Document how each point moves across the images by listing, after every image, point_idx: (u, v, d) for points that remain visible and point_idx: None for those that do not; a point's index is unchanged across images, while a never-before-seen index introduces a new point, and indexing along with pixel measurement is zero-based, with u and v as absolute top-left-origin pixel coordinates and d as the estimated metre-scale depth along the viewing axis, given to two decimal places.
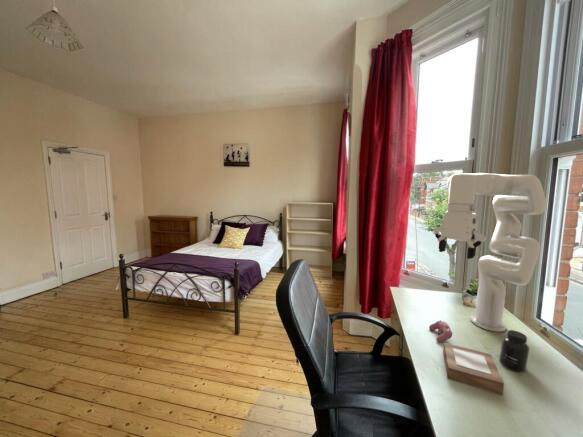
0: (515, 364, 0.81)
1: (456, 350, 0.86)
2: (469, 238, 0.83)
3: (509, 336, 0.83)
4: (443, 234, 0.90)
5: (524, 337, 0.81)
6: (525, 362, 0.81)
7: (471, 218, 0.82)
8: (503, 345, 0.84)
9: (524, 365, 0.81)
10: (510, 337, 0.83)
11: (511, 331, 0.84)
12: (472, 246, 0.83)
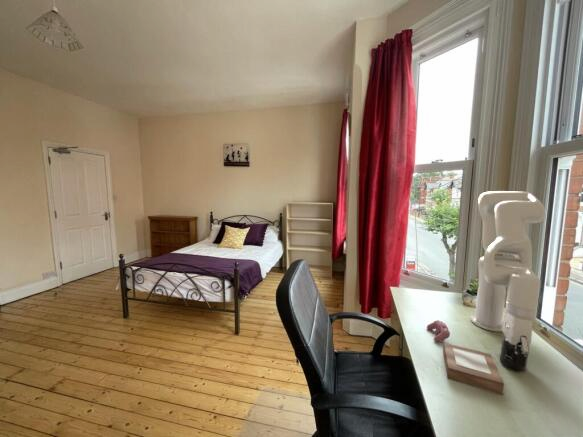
0: None
1: (456, 350, 0.86)
2: None
3: None
4: None
5: None
6: (525, 362, 0.81)
7: None
8: (503, 345, 0.84)
9: None
10: None
11: None
12: None
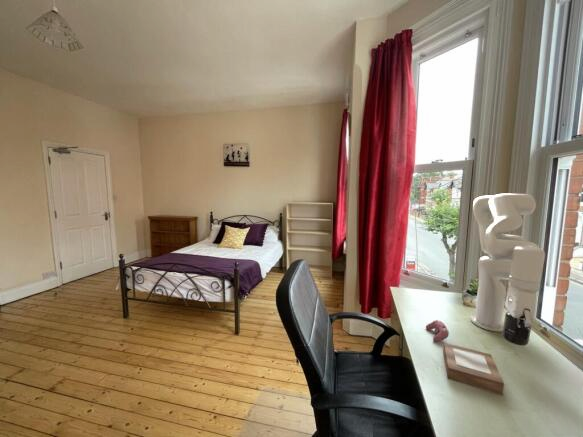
0: (517, 338, 0.81)
1: (456, 350, 0.86)
2: None
3: None
4: None
5: None
6: (528, 335, 0.80)
7: None
8: (506, 319, 0.84)
9: (527, 338, 0.80)
10: None
11: None
12: None
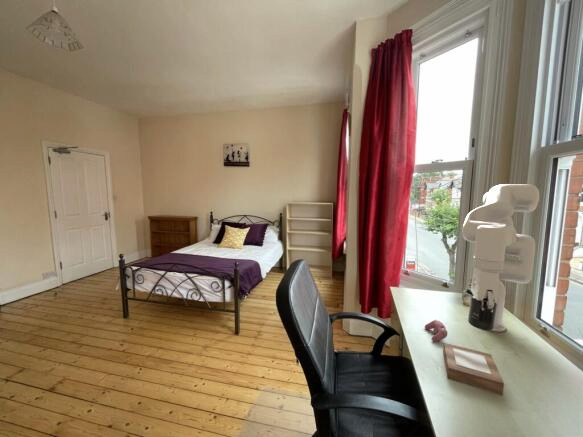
0: (482, 322, 0.77)
1: (456, 350, 0.86)
2: None
3: None
4: None
5: None
6: (493, 319, 0.76)
7: None
8: (471, 303, 0.80)
9: (492, 323, 0.76)
10: None
11: None
12: None
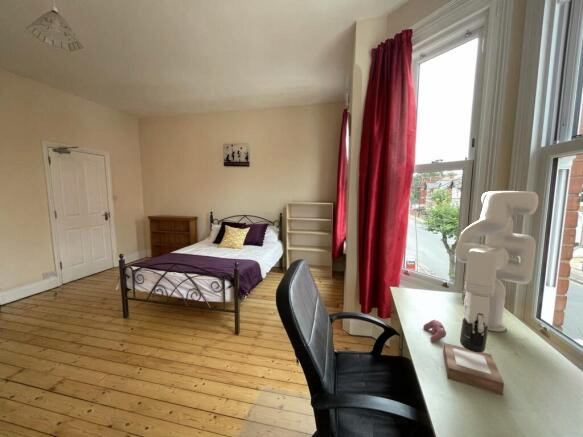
0: None
1: (456, 350, 0.86)
2: None
3: None
4: None
5: None
6: (484, 342, 0.77)
7: None
8: (462, 325, 0.80)
9: (483, 345, 0.77)
10: None
11: None
12: None
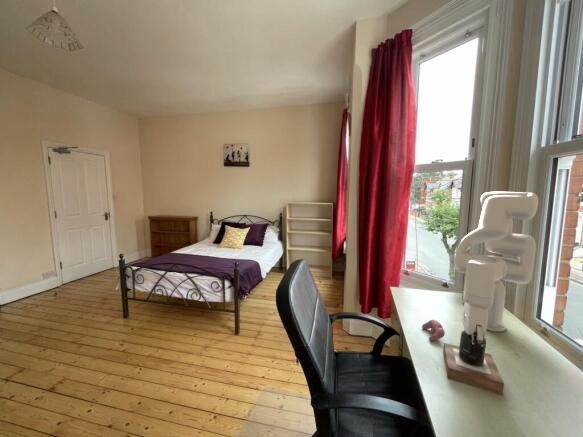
0: (471, 358, 0.78)
1: (456, 350, 0.86)
2: None
3: None
4: None
5: None
6: (482, 356, 0.78)
7: None
8: (461, 338, 0.81)
9: (481, 359, 0.78)
10: None
11: None
12: None
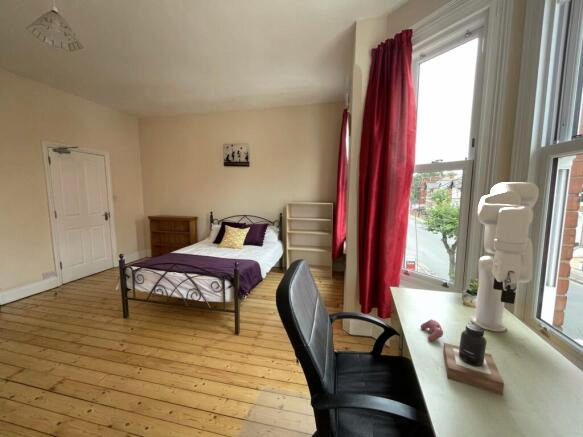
0: (471, 358, 0.78)
1: (456, 350, 0.86)
2: None
3: (467, 329, 0.80)
4: None
5: (481, 330, 0.78)
6: (482, 356, 0.78)
7: None
8: (461, 339, 0.81)
9: (481, 359, 0.78)
10: (467, 330, 0.80)
11: (469, 324, 0.81)
12: None
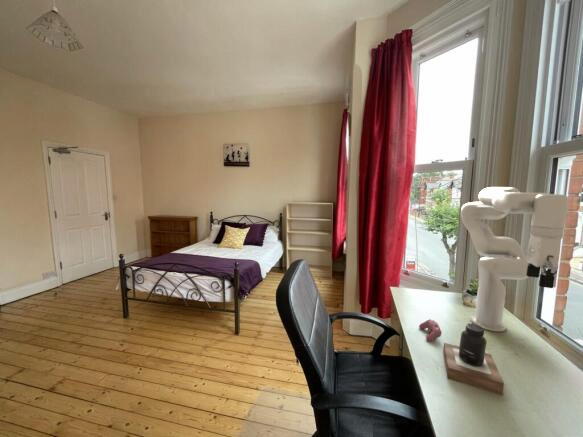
0: (471, 358, 0.78)
1: (456, 350, 0.86)
2: None
3: (467, 329, 0.80)
4: None
5: (481, 330, 0.78)
6: (482, 356, 0.78)
7: None
8: (461, 339, 0.81)
9: (481, 359, 0.78)
10: (467, 330, 0.80)
11: (469, 324, 0.81)
12: None
